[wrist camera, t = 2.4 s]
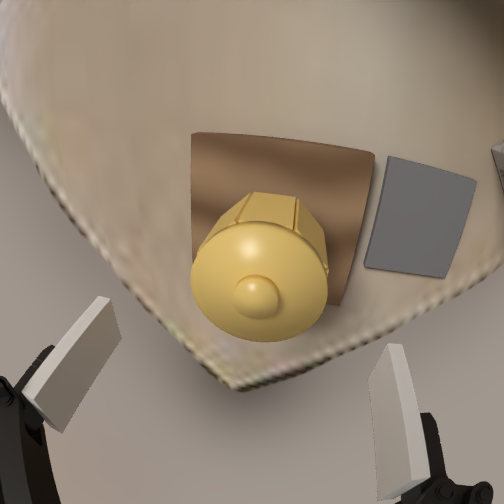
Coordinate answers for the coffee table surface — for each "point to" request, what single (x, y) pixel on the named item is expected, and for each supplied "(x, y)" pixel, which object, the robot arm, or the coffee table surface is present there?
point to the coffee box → (499, 160)
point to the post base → (283, 188)
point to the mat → (418, 218)
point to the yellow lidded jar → (262, 269)
